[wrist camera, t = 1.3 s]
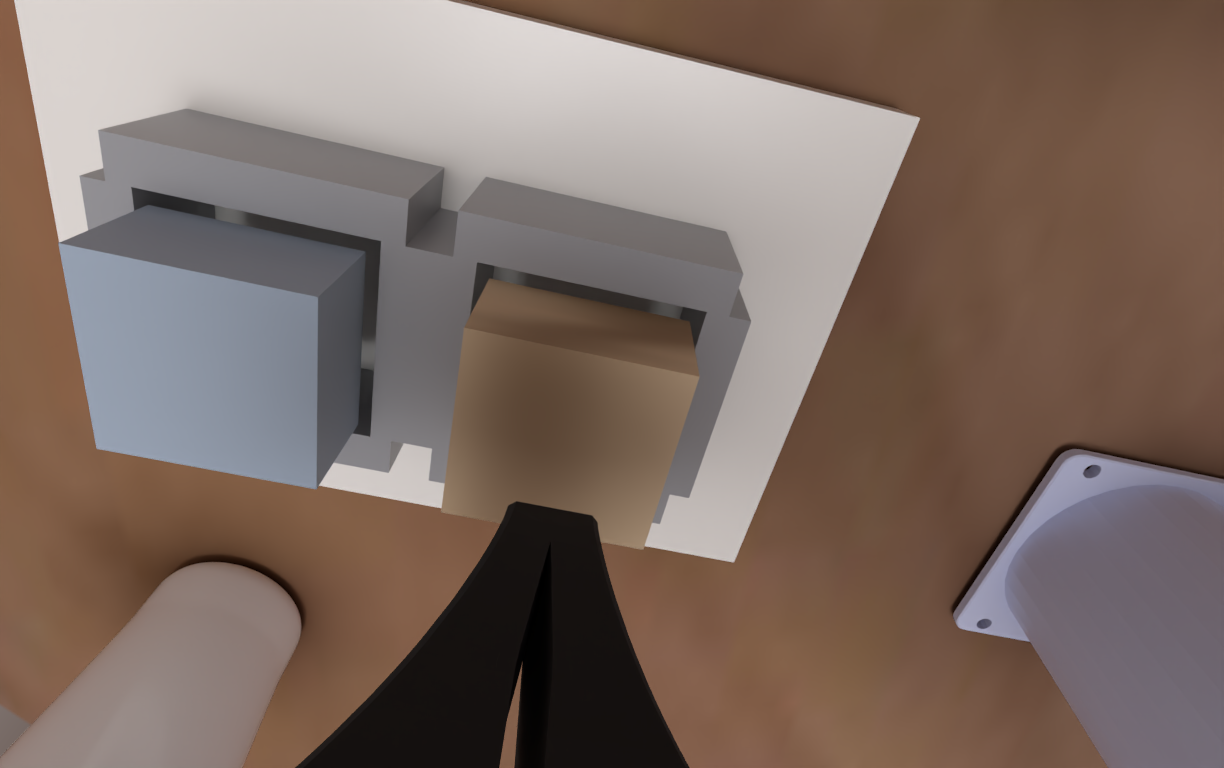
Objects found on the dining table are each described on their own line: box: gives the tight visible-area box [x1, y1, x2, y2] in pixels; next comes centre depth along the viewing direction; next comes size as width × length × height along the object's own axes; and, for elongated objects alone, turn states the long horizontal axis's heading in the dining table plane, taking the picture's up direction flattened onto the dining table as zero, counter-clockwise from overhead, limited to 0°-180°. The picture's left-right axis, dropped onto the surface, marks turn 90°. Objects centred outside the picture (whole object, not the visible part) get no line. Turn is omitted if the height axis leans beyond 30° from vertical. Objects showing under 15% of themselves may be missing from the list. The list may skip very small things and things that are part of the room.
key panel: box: [14, 0, 920, 562], centre depth 17 cm, size 20×14×4 cm
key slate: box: [58, 205, 366, 489], centre depth 14 cm, size 4×4×2 cm
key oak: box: [441, 278, 700, 550], centre depth 15 cm, size 4×4×2 cm
